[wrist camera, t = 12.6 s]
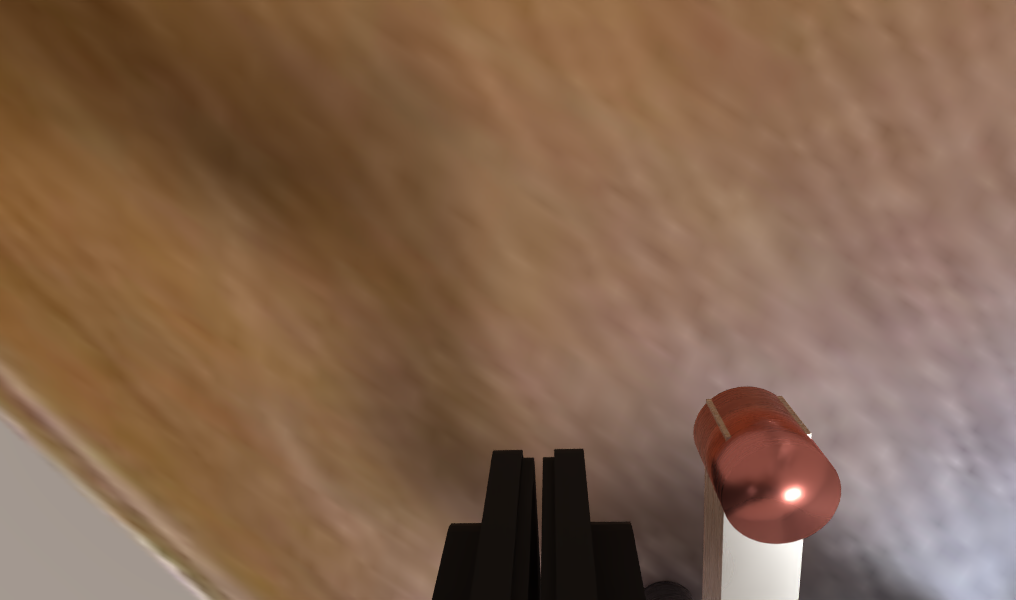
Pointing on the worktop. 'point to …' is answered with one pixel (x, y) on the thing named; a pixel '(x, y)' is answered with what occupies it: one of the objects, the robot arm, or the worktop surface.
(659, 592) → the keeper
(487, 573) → the robot arm
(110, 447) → the worktop surface
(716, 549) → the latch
